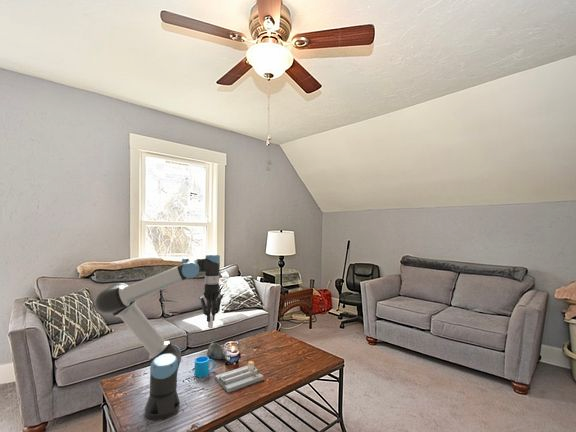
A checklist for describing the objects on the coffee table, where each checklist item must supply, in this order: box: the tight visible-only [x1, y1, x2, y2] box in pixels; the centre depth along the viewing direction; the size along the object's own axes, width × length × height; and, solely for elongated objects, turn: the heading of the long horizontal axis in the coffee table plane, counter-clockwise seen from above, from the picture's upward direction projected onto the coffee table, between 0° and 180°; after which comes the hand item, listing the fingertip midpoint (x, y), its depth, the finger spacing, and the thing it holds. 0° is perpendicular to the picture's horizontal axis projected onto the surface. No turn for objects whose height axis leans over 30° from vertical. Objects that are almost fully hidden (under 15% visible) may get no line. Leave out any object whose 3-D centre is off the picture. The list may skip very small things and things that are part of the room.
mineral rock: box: [206, 342, 226, 360], centre depth 188 cm, size 13×11×10 cm
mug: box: [193, 355, 216, 378], centre depth 170 cm, size 12×8×8 cm
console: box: [214, 364, 264, 393], centre depth 163 cm, size 22×16×4 cm
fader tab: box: [247, 360, 255, 372], centre depth 168 cm, size 2×3×5 cm
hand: (210, 327), depth 154 cm, fingers closed
